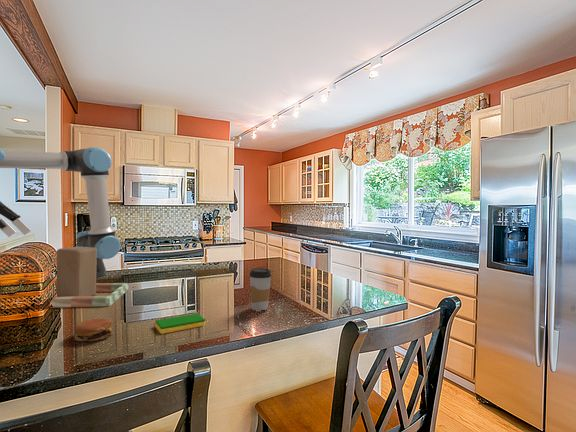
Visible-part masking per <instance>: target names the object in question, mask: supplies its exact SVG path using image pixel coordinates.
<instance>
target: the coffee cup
mask: <svg viewBox="0 0 576 432" xmlns="http://www.w3.org/2000/svg"><path fill="white" fill-rule="evenodd" d="M249 279H250V280H249V282H250V283H249V285H250V286H249V287H250V288H249V289H250V290H249V292H250V294H249V295H250V309H251V310H252V309H253V310H252V311H254V310H257V311H256V312H262V311H261V310H265V311H267V310H266V309H269V307H268V306H269V301H270V299H269V298H270V292H271V291H270V289H271V279H272V273H271V269H270V268H264V267H256V268H255V267H254V268H251V269H250V272H249ZM258 310H260V311H258Z"/></svg>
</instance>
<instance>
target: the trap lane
mask: <svg viewBox="0 0 576 432" xmlns="http://www.w3.org/2000/svg"><path fill="white" fill-rule="evenodd" d="M113 291H114V292H113ZM127 291H129V283H128V282H107V283H105V282H103V283H102V282H100V283H98V282H96V293H103V292H104V293H105V292H106V293H109V292H110V294H109V295H95V296H79V297H56V296H53V297H54V298H53V297H52V298H53V299H52V306H53V307H52V308H80V307H82V308H84V307H86V308H89V307H110V306H112V305H113V304H114V303H115V302H116V301H118V299H120V298H121V297H122V296H123V295H124V294H125V293H126V292H127Z"/></svg>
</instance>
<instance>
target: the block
mask: <svg viewBox="0 0 576 432" xmlns="http://www.w3.org/2000/svg"><path fill="white" fill-rule="evenodd" d="M96 264H97V249H96V248H92V247H78V246H77V245H76V246H71V247H63V248H62V247H61V248H58V249H57V250H56V270H57V279H55V280H56V281H55V283H56V285H55V287H56V288H55V293H56V292H57V297H79V296H97V292H96V283H97V277H96Z"/></svg>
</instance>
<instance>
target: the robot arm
mask: <svg viewBox="0 0 576 432" xmlns="http://www.w3.org/2000/svg"><path fill="white" fill-rule="evenodd" d="M112 161H113V160H112V158H111V155H110V154H109V152H107V151H106V150H105V149H103V148H101V147H97V146H96V147H94V146H92V147H91V146H90V147H87V148H82V149H80V148H79V149H76V150H60V152H50V151H48V152H45V151H24V150H23V151H22V150H3V149H2V148H1V147H0V169H40V170H41V169H46V170H50V169H51V170H52V169H53V170H54V169H56V170H58V169H59V170H61V171H63V172H75V173H77V172H78V173H80V177H81V178H82V179H83V180H84V181H85V191H86V196H87V197H86V199H87V204H88V205H87V206H88V214H89V224H90V229H89V231H88V230H87V231H80V232H77V235H76V247H77V246H78V247H92V248H96V249H97V264H96V278H99V277H100V278H101V277H104V276H106V275H107V269H106V265H105V263H104V260H111V259H112V258H114V257H115V256H117V255H118V253H119V252H120V250H121V241H120V240H119V238H117V236H116V231H115V229H114V228H112V225H111V224H112V223H111V216H110V207H109V196H108V189H107V179H108V177H110V176H109V172H110V171H109V169H110V168H111V166H112V163H113V162H112ZM0 215H1V216H2V217H4V218H5V219H7V220H9V221H10V222H11V224H12V225H13V226H15V228H16V229H17V230H18V231H20V232H21V234H23V235H24V236H26V235H27V234H29V233H30V232H31V231H32V229H31V228H30V227H28V225H26V224H25V222H23V221H22V220H21V219H20V218H21V215H19V214H17V213H16V212H14V211H13V210H12V209H10V208H9V207H8V206H7V205H5V203H3V202H2V201H1V200H0ZM2 217H0V231H2V232H3V233H4V234H5V236H7V237H8V238H10V237H12V236H13V235H14V234H16V233H17V231H16V229H14V228H13V227H12V226H11V225H10V224H9V223H8V221H6V220H5V219H4V218H2Z"/></svg>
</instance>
